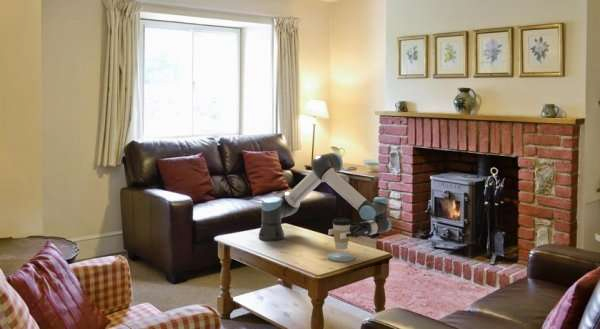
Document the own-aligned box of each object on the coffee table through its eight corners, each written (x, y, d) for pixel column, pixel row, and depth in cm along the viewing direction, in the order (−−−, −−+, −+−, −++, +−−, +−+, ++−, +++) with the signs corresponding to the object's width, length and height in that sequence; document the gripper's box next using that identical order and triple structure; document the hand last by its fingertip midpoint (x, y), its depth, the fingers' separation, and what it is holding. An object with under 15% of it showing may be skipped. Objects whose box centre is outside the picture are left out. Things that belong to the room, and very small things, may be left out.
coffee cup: (349, 251, 298) (350, 222, 296) (330, 249, 300) (330, 221, 298) (351, 245, 307) (352, 218, 305) (333, 244, 309) (333, 217, 307)
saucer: (328, 253, 312) (329, 251, 312) (355, 255, 310) (355, 252, 310) (326, 261, 298) (326, 258, 298) (353, 262, 296) (353, 260, 296)
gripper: (380, 239, 305) (348, 245, 292) (353, 231, 322) (321, 237, 309) (381, 225, 304) (348, 231, 291) (353, 217, 321) (321, 223, 308)
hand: (334, 234), depth 300 cm, fingers closed on coffee cup, 9 cm apart
